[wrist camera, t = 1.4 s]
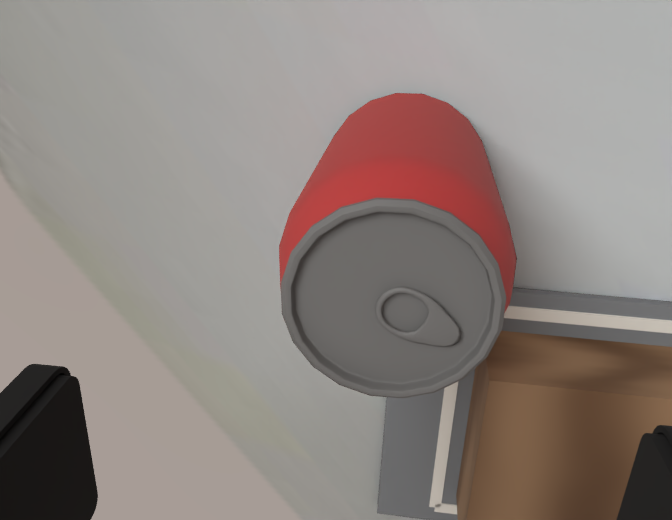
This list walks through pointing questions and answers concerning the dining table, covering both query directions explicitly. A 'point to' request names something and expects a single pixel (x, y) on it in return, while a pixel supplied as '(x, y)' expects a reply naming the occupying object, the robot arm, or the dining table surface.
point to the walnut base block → (559, 426)
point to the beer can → (398, 252)
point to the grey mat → (454, 401)
